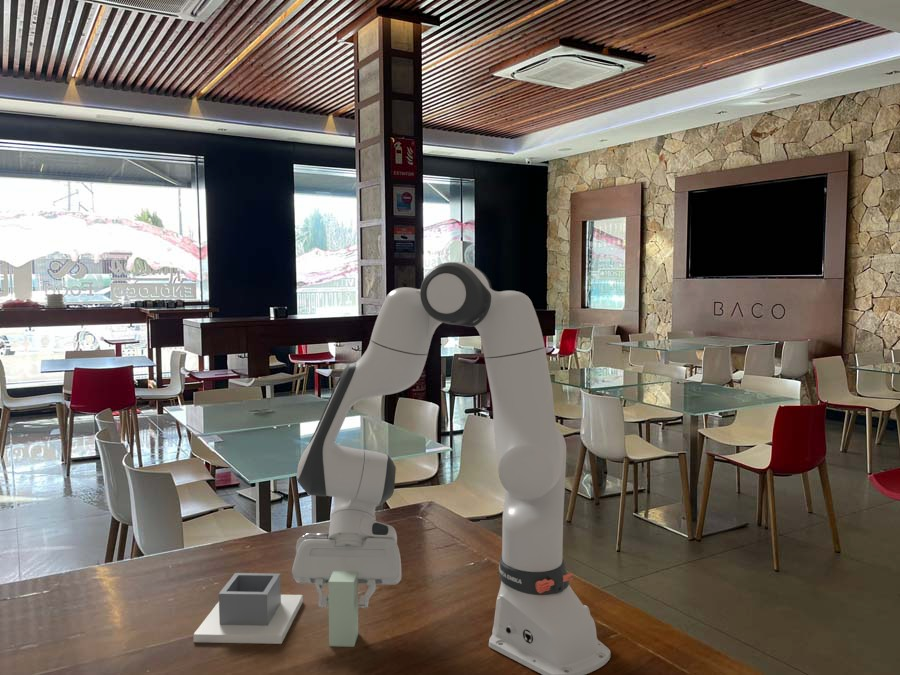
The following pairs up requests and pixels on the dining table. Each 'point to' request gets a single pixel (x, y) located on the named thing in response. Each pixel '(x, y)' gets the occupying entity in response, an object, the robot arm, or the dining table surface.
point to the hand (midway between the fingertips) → (343, 606)
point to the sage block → (343, 608)
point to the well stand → (250, 611)
